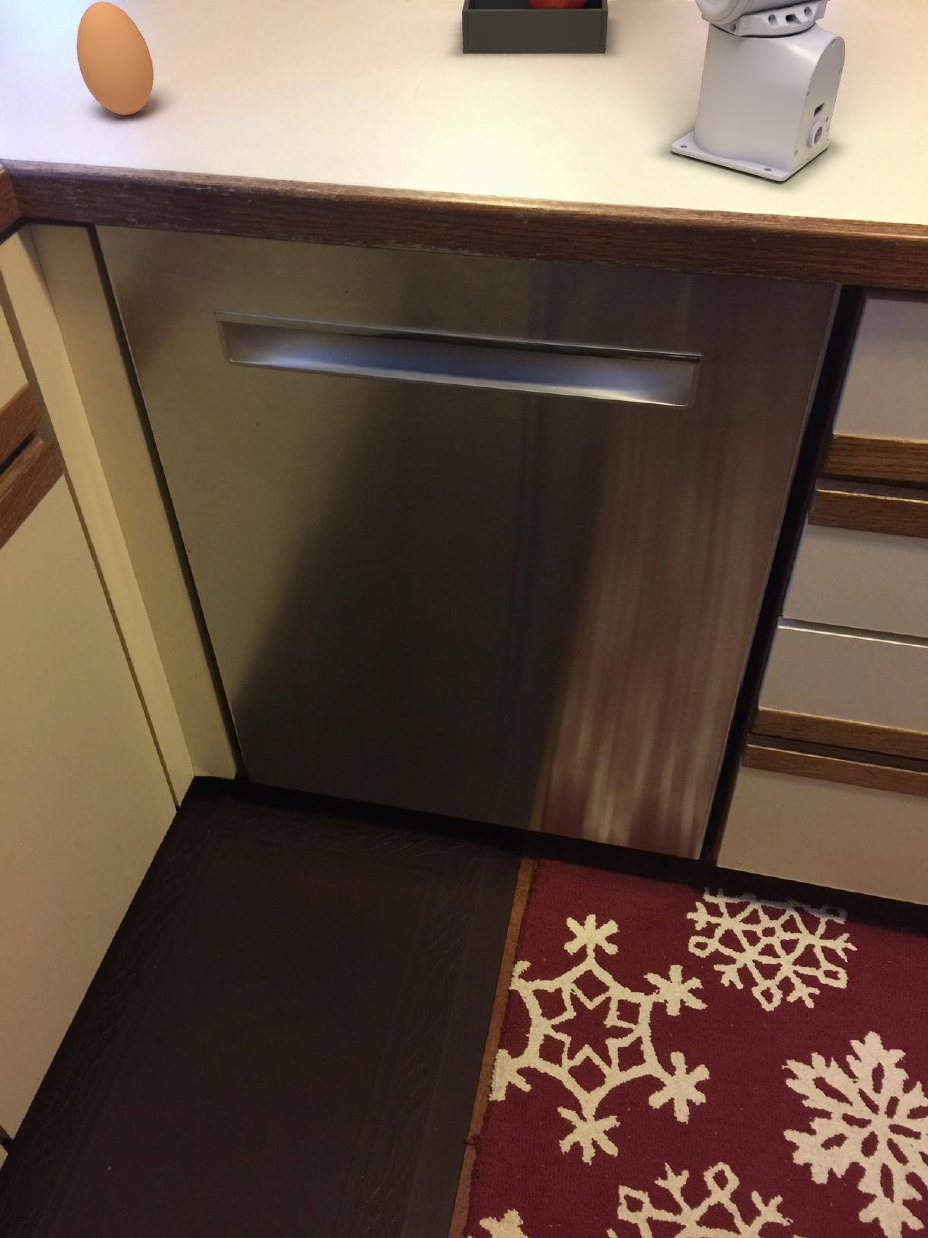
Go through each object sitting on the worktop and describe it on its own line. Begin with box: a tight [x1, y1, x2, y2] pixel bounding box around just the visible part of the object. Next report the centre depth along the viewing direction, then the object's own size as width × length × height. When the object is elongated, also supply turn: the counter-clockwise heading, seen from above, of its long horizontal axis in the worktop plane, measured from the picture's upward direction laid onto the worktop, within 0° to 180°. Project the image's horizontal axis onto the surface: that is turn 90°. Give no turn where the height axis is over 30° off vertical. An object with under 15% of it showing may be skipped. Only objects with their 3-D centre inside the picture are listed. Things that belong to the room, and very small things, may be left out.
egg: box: [76, 0, 155, 116], centre depth 84 cm, size 6×6×8 cm
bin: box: [461, 0, 609, 54], centre depth 96 cm, size 13×8×4 cm, turn 86°
